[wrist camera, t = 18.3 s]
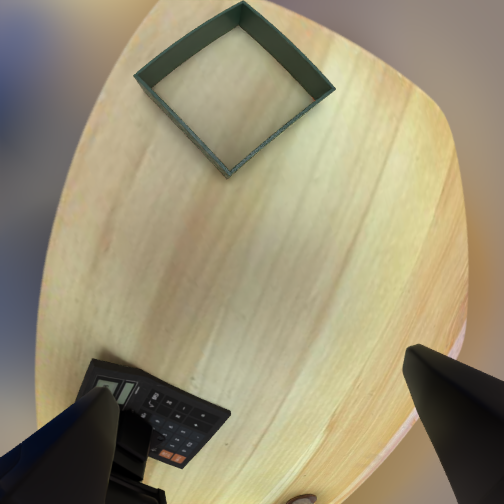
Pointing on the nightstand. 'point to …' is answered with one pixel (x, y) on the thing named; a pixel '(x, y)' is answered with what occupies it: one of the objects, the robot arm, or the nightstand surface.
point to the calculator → (159, 409)
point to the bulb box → (211, 31)
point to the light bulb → (302, 501)
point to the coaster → (310, 497)
